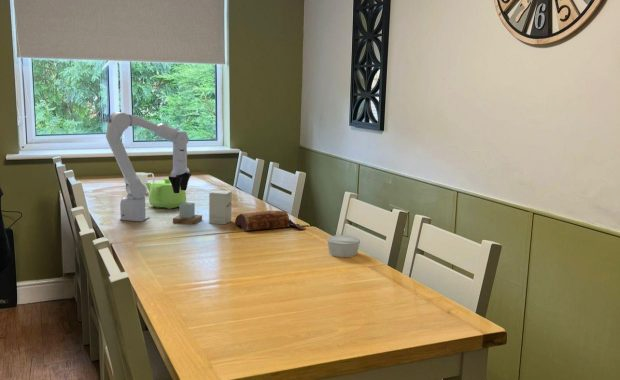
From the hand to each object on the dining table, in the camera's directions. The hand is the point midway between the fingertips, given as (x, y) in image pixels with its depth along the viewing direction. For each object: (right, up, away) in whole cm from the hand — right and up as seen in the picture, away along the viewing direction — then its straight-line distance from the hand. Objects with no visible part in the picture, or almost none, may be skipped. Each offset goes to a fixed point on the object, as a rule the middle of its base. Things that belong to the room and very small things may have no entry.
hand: (180, 191), depth 251 cm
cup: (-30, -1, +52) cm, 61 cm away
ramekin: (+66, -21, -49) cm, 85 cm away
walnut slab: (+5, -13, -8) cm, 16 cm away
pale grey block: (+5, -10, -9) cm, 14 cm away
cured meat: (+40, -15, -14) cm, 45 cm away
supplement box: (+18, -13, -8) cm, 23 cm away
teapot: (-12, -7, +21) cm, 25 cm away
